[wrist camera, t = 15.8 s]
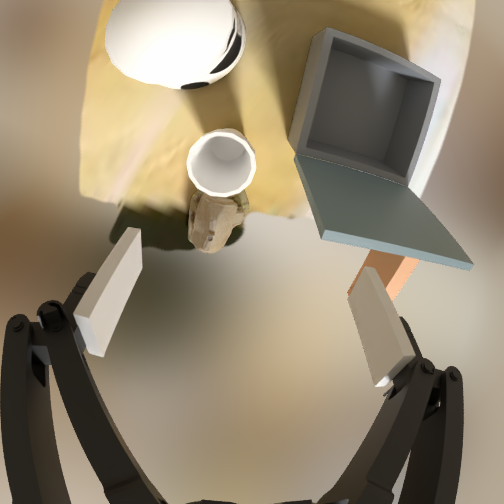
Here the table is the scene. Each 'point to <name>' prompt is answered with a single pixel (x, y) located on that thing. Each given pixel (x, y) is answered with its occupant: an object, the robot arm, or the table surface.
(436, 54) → the table surface
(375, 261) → the lid flap
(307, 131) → the carton
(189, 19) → the milk container
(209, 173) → the foam cup
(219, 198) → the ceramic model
